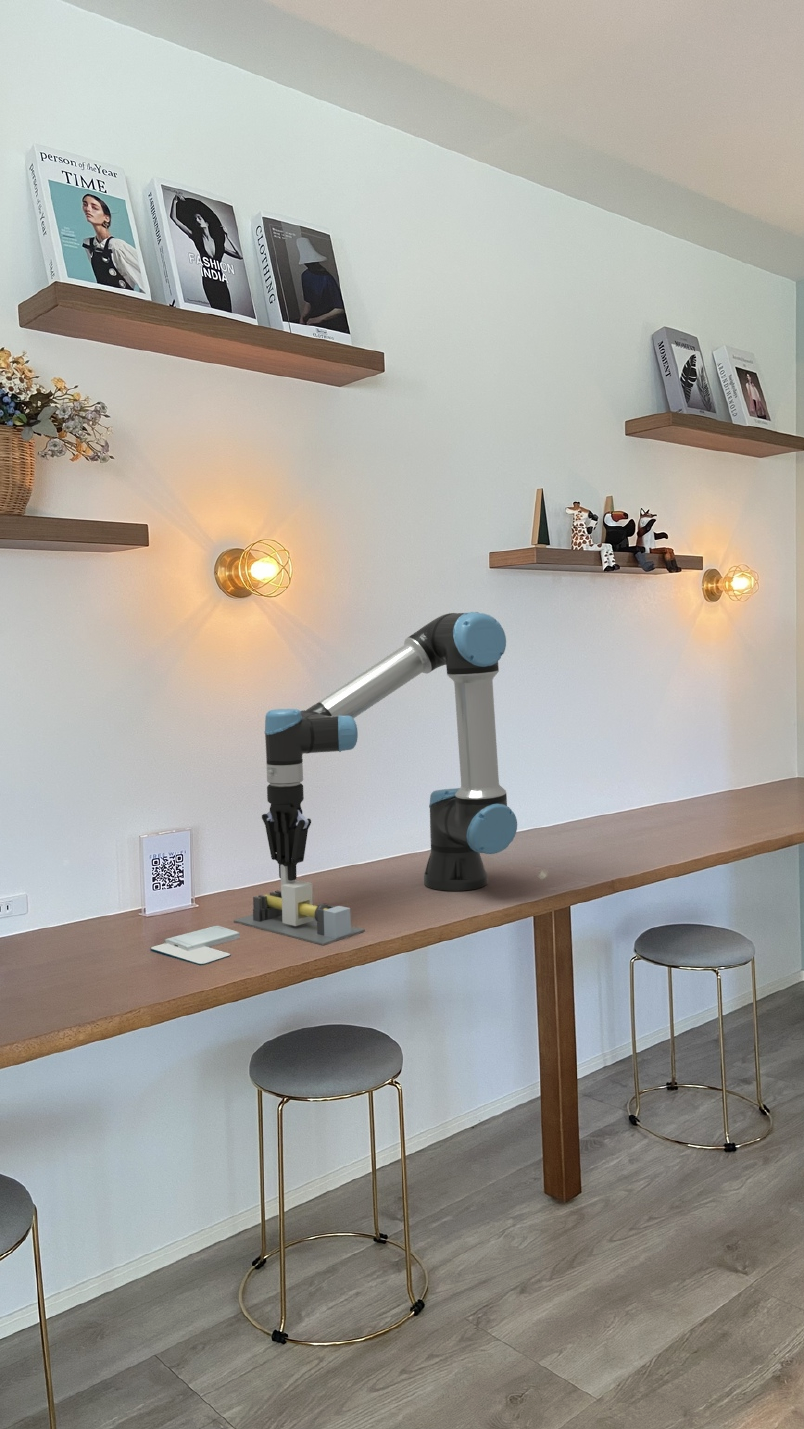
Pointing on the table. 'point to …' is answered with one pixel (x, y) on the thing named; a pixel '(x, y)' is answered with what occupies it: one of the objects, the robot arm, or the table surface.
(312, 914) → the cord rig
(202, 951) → the smartphone
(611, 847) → the table surface
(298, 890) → the sleeve
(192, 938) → the hard drive
